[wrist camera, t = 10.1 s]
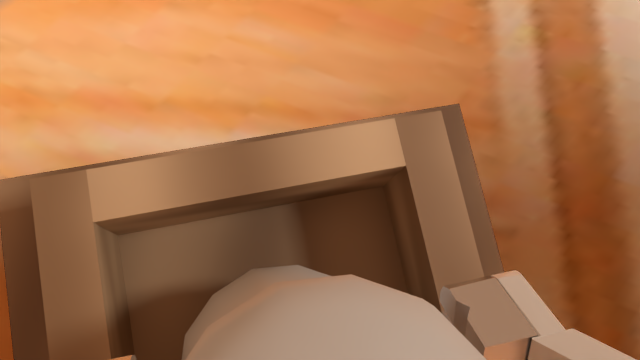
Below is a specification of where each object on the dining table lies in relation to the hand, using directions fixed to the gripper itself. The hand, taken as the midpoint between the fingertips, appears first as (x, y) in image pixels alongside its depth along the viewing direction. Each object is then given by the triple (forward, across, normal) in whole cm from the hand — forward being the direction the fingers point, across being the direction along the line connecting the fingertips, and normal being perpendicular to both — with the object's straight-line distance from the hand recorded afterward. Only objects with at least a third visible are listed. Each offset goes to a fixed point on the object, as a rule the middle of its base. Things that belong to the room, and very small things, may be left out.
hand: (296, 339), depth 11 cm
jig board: (+6, 0, +7) cm, 9 cm away
